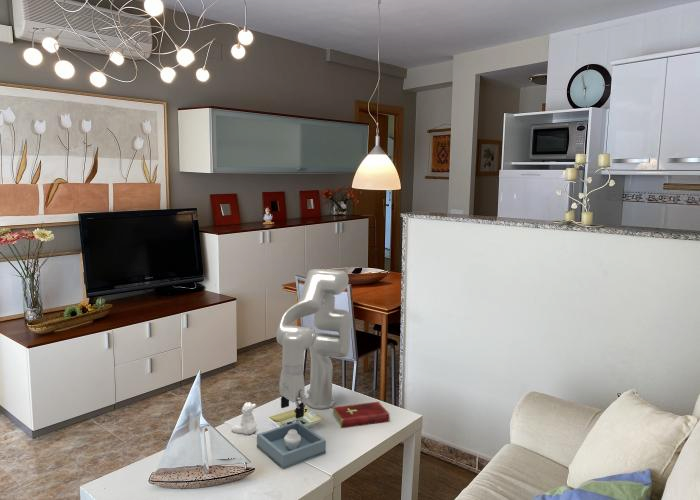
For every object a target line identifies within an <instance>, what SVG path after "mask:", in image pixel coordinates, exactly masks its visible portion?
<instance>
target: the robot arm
mask: <svg viewBox="0 0 700 500" xmlns="http://www.w3.org/2000/svg"><path fill="white" fill-rule="evenodd" d="M348 286H349V275H348V273H347V272H346V271H345V270H335V269H326V268H325V269H323V268H314V269H313V268H312V269H310V270H309V271H308V272H307V276H306V278H305V281H304V285H303V287H302V291H301V294H300V297H299V300H298V302H296V303H295V304H293V305H292V306H290V307H289V308H288V309H287V310H286V311H285V312H284V313H283V315H282V316H281V318H280V321H279V324H278V327H277V331H276V336H275V337H276V341H277V343H278V344H279V345H280V346H282V355H281V356H282V358H281V359H282V361H281V362H282V363H281V364H282V365H281V366H282V367H281V370H280V377H279V382H278V388H279V389H278V390H279V391H278V392H279V394H280V395H279V396H280V408H281V409H284V408H285V409H286V408H288V407H289V406H290V403H295V405H296V408H295V419H301V418H304V416H305V407H306V406H308V407H310V408H312V409H314V410H315V409H316V410H326V409H330V408H332V407H335V403H336V400H335V398H333V397H332V395H333V363H332V360H331V358H330V357H333V358H346V357H348V355H349V352H350V349H351V348H350V347H351V332H352V331H351V330H352V328H351V327H352V316H351V313H350V312H349V311H348V310H345V309H338V308H336V307H335V304H336V303H335V301H336V297H335V296H338V295H340V294H342V293H343V292H344V291H345V290H347V288H348ZM311 315H314V316H313V325H314V327H315V328H316V329H317V330H319V331H327V332H335V333H326V332H316V331H315V329H313V328H312V327H307V326H299V325H291V324H292V323H294V322H295V321H296V320H298V319H301V318H304V317H308V316H311ZM336 333H337V334H336ZM308 349H309V353H310V354H309V355H310V377H309V379H310V381H309V389H307V391H305V389H306V388H305V376H304V366H305V364H304V361H305V359H304V356H305V355H304V354H305V350H308ZM305 392H306V393H307V394H308V397H307V396H306V394H305ZM299 402H300V403H299Z"/></svg>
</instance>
